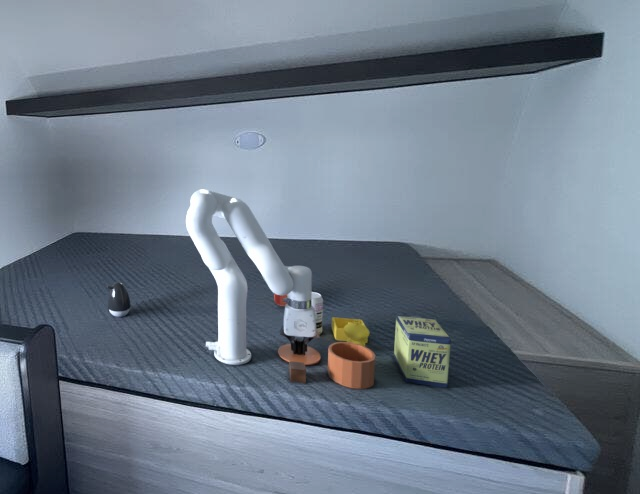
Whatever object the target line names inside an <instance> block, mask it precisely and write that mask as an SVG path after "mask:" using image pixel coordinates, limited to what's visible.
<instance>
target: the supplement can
mask: <svg viewBox="0 0 640 494" xmlns="http://www.w3.org/2000/svg"><path fill="white" fill-rule="evenodd" d="M311 305H312V306H313V307H314V310H315V317H316V330H317V332H318V334H319V335H321V334H322V333H323V315H324V313H323V312H324V299H323V297H322V295H321V293H318V292H316V291H312V299H311Z"/></svg>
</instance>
